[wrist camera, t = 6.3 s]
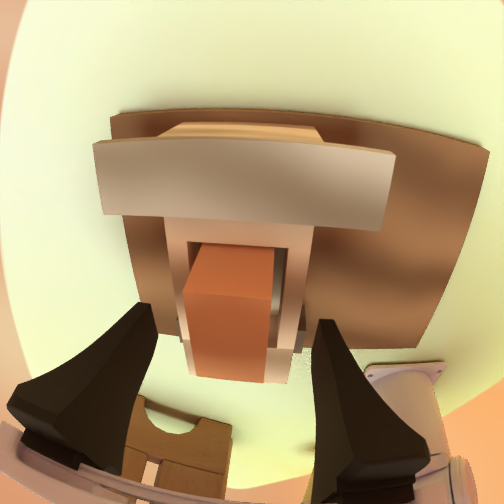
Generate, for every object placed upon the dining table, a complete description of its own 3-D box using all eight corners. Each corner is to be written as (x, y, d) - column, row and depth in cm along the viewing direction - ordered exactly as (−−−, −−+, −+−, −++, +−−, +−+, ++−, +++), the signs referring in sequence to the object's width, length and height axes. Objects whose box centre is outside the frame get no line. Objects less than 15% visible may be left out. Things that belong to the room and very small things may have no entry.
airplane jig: (412, 338, 21) (429, 391, 17) (152, 322, 22) (130, 375, 18) (480, 146, 13) (535, 178, 9) (118, 114, 14) (62, 135, 10)
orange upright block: (269, 301, 17) (263, 383, 13) (216, 297, 18) (196, 376, 13) (275, 222, 15) (271, 298, 10) (213, 218, 15) (182, 291, 10)
